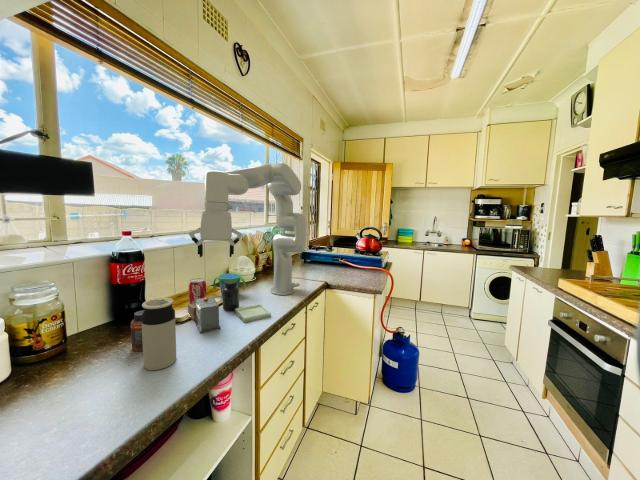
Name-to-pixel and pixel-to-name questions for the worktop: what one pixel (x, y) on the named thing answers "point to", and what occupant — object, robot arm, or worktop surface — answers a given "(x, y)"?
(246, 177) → the robot arm
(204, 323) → the control box
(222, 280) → the snack cup
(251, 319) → the tray
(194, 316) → the walnut block
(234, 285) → the supplement bottle
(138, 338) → the supplement bottle
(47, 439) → the worktop surface
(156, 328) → the travel mug
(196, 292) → the soda can
